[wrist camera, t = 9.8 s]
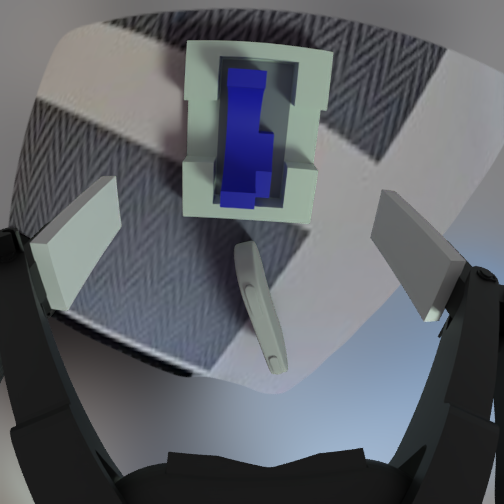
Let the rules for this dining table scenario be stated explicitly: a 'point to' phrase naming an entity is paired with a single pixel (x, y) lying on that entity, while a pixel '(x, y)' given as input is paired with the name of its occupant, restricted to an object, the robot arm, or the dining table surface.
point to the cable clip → (246, 142)
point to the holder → (271, 120)
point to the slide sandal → (260, 305)
